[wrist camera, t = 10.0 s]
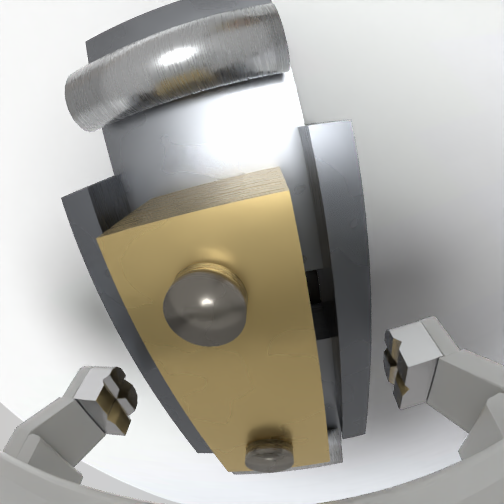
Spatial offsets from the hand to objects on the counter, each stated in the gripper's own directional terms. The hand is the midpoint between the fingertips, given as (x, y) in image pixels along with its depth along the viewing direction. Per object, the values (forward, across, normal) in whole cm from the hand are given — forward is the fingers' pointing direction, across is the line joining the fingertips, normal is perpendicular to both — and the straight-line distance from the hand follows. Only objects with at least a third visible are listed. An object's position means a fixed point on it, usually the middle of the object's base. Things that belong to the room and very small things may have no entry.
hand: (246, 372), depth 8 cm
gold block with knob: (+3, 0, 0) cm, 3 cm away
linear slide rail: (+5, 0, 0) cm, 5 cm away
